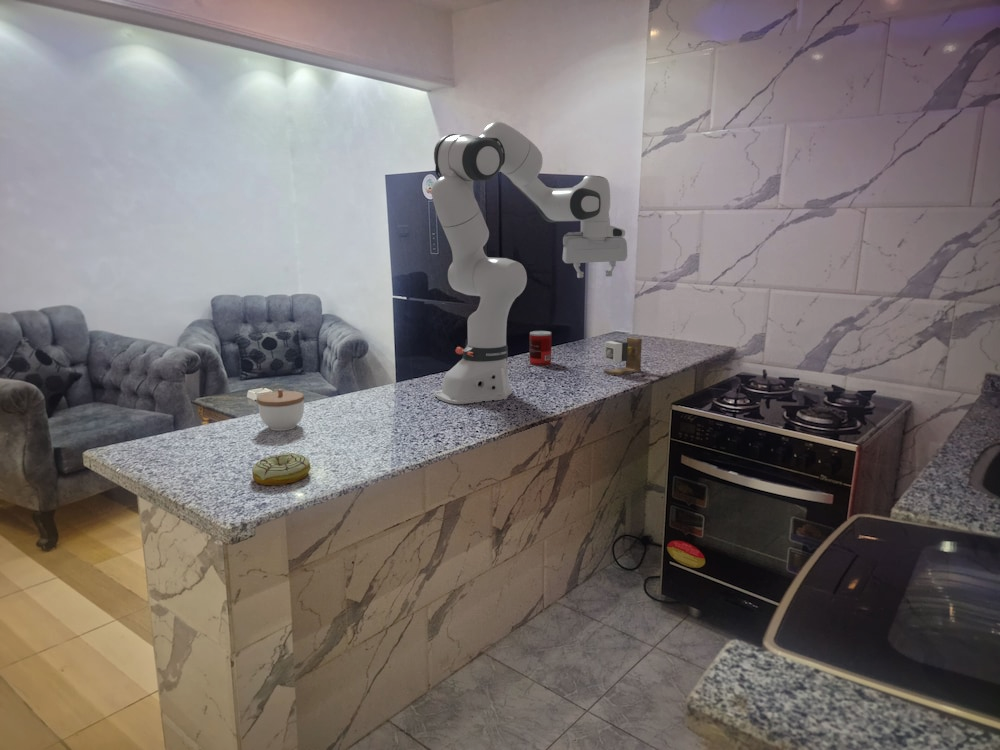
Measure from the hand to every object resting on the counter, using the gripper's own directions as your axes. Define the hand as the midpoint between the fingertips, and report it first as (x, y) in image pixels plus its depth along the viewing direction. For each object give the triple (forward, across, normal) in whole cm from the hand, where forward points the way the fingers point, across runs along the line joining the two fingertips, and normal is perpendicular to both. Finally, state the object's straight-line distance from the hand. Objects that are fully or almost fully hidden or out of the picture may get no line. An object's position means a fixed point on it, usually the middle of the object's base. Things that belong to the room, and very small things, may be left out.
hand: (594, 277), depth 205 cm
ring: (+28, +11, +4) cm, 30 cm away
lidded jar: (+30, -93, -31) cm, 103 cm away
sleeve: (+28, +8, +3) cm, 29 cm away
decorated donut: (+29, -91, -65) cm, 116 cm away
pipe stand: (+32, +12, +4) cm, 35 cm away
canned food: (+32, -10, +25) cm, 42 cm away
